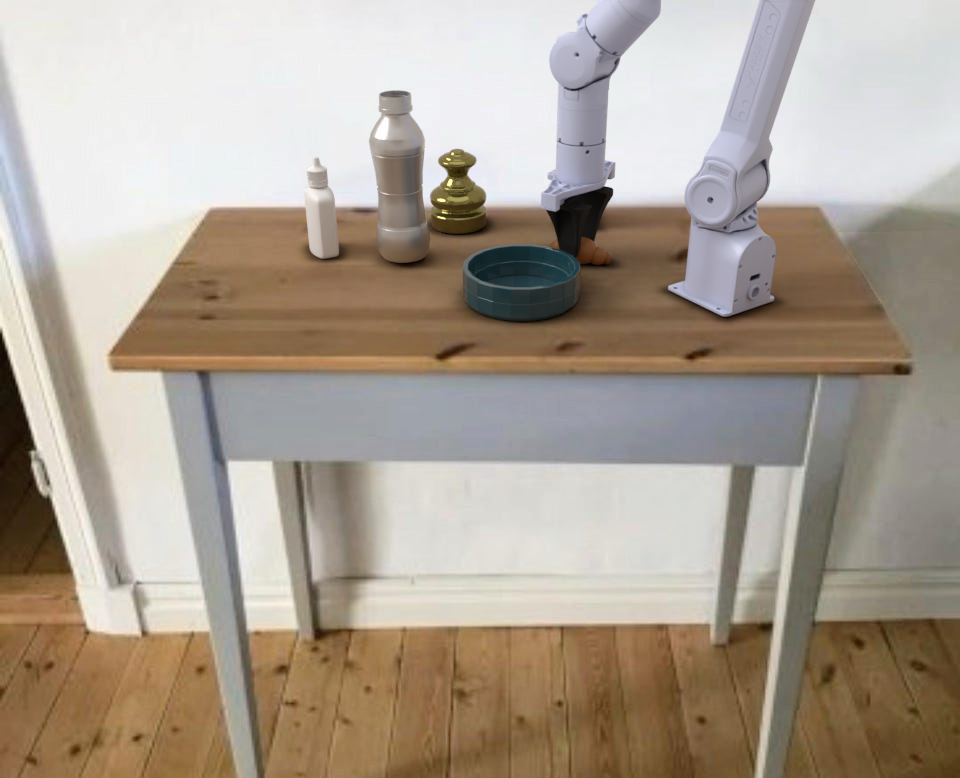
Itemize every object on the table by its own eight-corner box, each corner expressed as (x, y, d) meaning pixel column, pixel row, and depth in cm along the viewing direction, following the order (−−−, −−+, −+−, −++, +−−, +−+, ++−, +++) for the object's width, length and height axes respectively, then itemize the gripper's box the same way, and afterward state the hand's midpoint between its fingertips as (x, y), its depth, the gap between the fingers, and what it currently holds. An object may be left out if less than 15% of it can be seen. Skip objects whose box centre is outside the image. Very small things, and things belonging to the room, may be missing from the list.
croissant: (600, 273, 129) (601, 247, 127) (540, 258, 133) (540, 234, 131) (614, 263, 131) (616, 238, 129) (554, 249, 135) (555, 225, 133)
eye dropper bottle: (346, 243, 138) (338, 150, 131) (336, 260, 133) (328, 165, 126) (312, 242, 138) (303, 150, 131) (302, 259, 133) (292, 164, 127)
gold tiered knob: (491, 232, 140) (491, 157, 135) (435, 237, 139) (433, 161, 134) (480, 213, 146) (479, 140, 141) (426, 218, 145) (424, 144, 140)
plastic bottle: (424, 270, 130) (416, 102, 119) (370, 267, 131) (358, 100, 120) (436, 251, 135) (430, 88, 124) (385, 247, 136) (374, 86, 125)
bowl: (602, 304, 121) (604, 271, 119) (506, 333, 115) (507, 299, 113) (533, 267, 130) (533, 236, 128) (441, 292, 124) (440, 260, 122)
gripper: (581, 119, 131) (577, 226, 138) (518, 149, 120) (517, 263, 128) (633, 128, 127) (626, 237, 135) (573, 159, 117) (569, 275, 125)
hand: (576, 250), depth 131 cm, fingers closed on croissant, 3 cm apart
